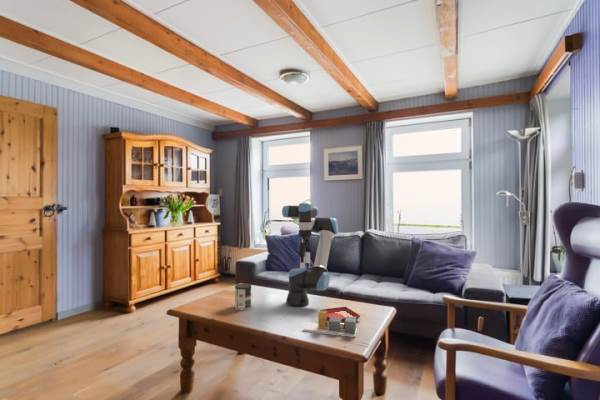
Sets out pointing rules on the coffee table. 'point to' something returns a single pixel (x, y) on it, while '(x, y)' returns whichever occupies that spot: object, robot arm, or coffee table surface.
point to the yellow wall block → (324, 323)
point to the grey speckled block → (335, 324)
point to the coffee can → (242, 296)
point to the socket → (350, 325)
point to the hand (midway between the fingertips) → (305, 265)
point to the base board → (325, 330)
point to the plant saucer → (335, 315)
